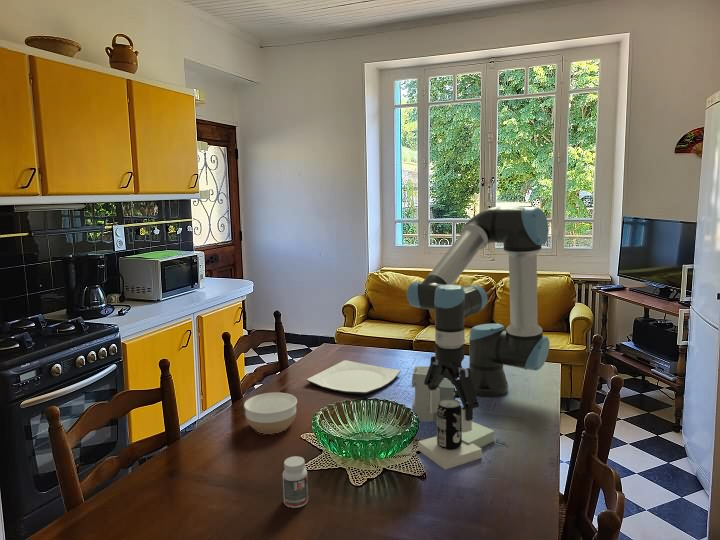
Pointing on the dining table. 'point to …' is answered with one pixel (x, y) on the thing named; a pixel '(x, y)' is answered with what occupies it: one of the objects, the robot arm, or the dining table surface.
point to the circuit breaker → (428, 394)
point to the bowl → (270, 412)
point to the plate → (354, 377)
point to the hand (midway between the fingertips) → (450, 421)
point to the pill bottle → (295, 482)
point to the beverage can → (449, 424)
